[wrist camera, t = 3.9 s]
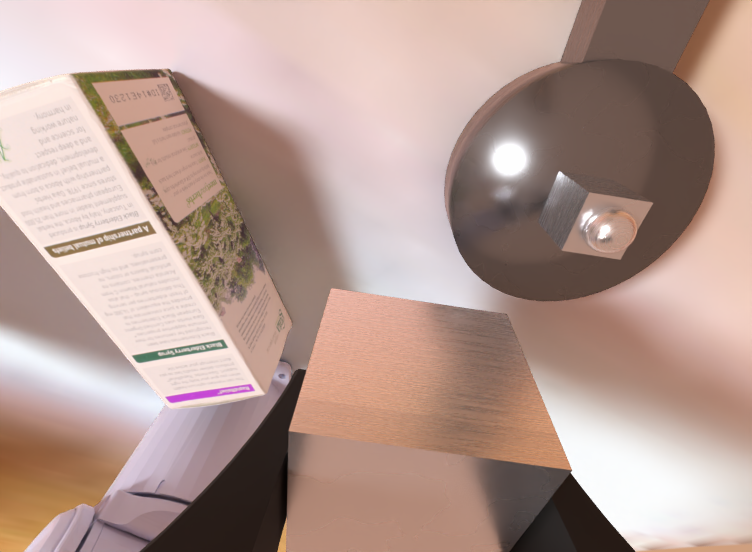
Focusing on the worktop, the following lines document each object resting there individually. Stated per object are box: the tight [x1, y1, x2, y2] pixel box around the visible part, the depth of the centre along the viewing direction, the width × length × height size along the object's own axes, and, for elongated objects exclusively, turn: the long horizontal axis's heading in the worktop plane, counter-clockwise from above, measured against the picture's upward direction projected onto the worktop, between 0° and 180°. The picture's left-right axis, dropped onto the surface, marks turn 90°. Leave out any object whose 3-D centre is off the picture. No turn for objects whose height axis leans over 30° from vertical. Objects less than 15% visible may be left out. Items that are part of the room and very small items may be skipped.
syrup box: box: [0, 69, 293, 409], centre depth 17 cm, size 6×6×14 cm
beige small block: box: [286, 288, 572, 552], centre depth 11 cm, size 6×6×5 cm
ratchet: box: [444, 0, 714, 301], centre depth 11 cm, size 20×10×6 cm, turn 172°
